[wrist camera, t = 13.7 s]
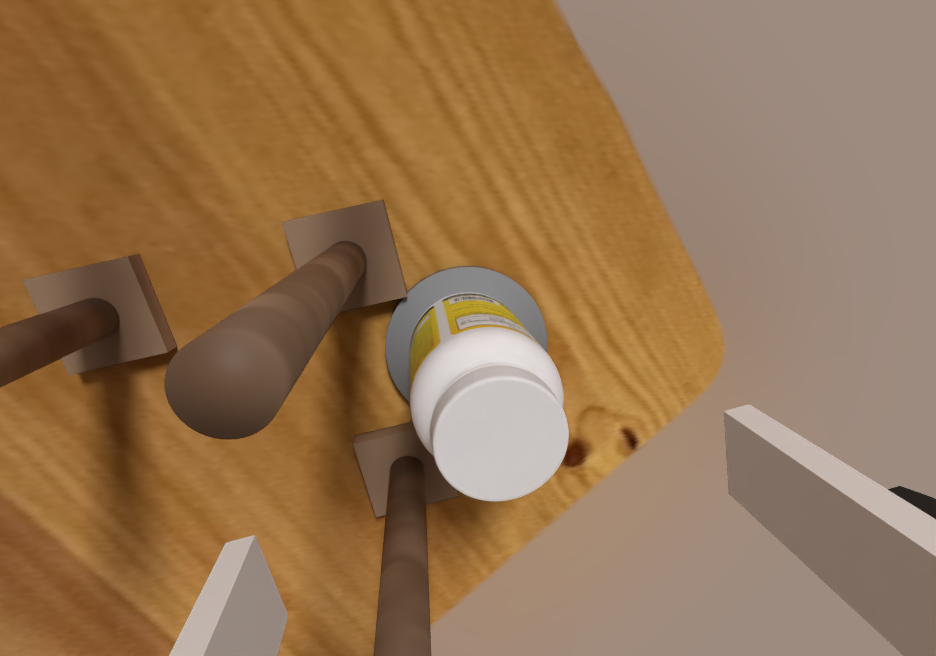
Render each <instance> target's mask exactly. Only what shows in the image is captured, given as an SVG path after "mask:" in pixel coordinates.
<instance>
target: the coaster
mask: <svg viewBox="0 0 936 656" xmlns="http://www.w3.org/2000/svg"><path fill="white" fill-rule="evenodd" d="M462 292H475V293H481V294H485V295H488V296H490V297H492V298H495V299H496V300H498V301H500V302H501V303H502V304H504V305H505V306H506V307H507V308H508V309H509V310H510V311H511V312H512V313H513V314H514V315H515V317H516V318H517V319H518V320H519V321H520V323H521V324H522V325H523V326H524V327H525V328H526V330H527V331H528V332H529V333H530V334H531V335H532V336H533V338H534V339H535V340H536V341H537V342H538V343H539V344H540V345H541V347H542V348H543V349H544V350H545V351H546V352H547V333H546V327H545V323H544V319H543V317H542V314H541V312H540V310H539V308H538V306H537V305H536V303H535V301H534V300H533V299H532V297H531V296H530V295H529V294H528V293H527V292H526V291H525V290H524V289H523V288H522V287H521V286H520V285H519V284H518V283H516V282H515V281H514V280H512V279H511V278H509V277H507V276H505V275H504V274H502V273H499V272H497V271H494V270H491V269H487V268H483V267H475V266H459V267H453V268H448V269H445V270H441V271H438V272H436V273H434V274H432V275H429V276H428V277H426V278H424V279H423V280H421V281H419V282H418V283H417V284H416V285H415V286H413V287H412V288H411V289H410V290H409V291H408V292H407V297H404V298H402V299H401V301H400V302H399V303H398V305H397V307H396V309H395V310H394V312H393V314H392V317H391V320H390V322H389V326H388V331H387V335H386V346H385V349H386V360H387V365H388V369H389V372H390V374H391V377H392V379H393V381H394V383H395V385H396V387H397V388H398V389H399V391H400V392H401V394H402V395H403V396H404V397H405V398H406V399H407V400H408V401H409V402H410V344H411V338H412V333H413V330H414V328H415V325H416V323H417V321H418V320H419V318H420V317H421V315H422V314H423V313H424V312H425V311H426V310H427V309H428V308H429V307H430V306H431V305H432V304H434V303H435V302H437V301H438V300H440V299H442V298H444V297H446V296H449V295H452V294H456V293H462Z"/></svg>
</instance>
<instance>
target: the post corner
mask: <svg viewBox="0 0 936 656" xmlns="http://www.w3.org/2000/svg"><path fill="white" fill-rule="evenodd" d="M282 225H283V228H284V231H285V234H286V237H287V240H288V243H289V246H290V250H291V253H292V256H293V259H294V262H295V265H296V268H297V270H296V271H294V272H293V273H291V274H290V275H288V276H287V277H285V278H284V279H282V280H281V281H279V282H278V283H276V284H275V285H274V286H272V287H271V288H269V289H268V290H266V291H265V292H263V293H262V294H260V295H259V296H257V297H256V298H254V299H253V300H251V301H250V302H249V303H247V304H246V305H244V306H243V307H241V308H240V309H238V310H237V311H235V312H234V313H232V314H231V315H229V316H228V317H226V318H225V319H224V320H222V321H221V322H219V323H218V324H216V325H215V326H213V327H212V328H210V329H209V330H207V331H206V332H204V333H203V334H201V335H200V336H199V337H197V338H196V339H194V340H193V341H191V342H190V343H188V344H187V345H185V346H184V347H183V348H181V349H180V350H179V351H178V352H177V353H176V354H175V355H174V357H173V358H172V360H171V361H170V363H169V365H168V367H167V370H166V374H165V392H166V397H167V399H168V402H169V404H170V406H171V408H172V410H173V411H174V413H175V414H176V415H177V416H178V418H179V419H180V420H181V421H182V422H184V423H185V424H186V425H187V426H188V427H190V428H191V429H193V430H195V431H197V432H198V433H201V434H203V435H206V436H209V437H212V438H218V439H239V438H244V437H247V436H250V435H253V434H255V433H257V432H259V431H260V430H262V429H263V428H264V427H266V426H267V425H268V424H269V423H270V422H271V421H272V420H273V418H274V417H275V415H276V414H277V412H278V411H279V409H280V407H281V406H282V404H283V402H284V401H285V399H286V397H287V396H288V394H289V393H290V391H291V389H292V388H293V386H294V384H295V383H296V381H297V380H298V378H299V376H300V375H301V373H302V371H303V370H304V368H305V367H306V365H307V363H308V362H309V360H310V358H311V357H312V355H313V354H314V352H315V350H316V349H317V347H318V345H319V344H320V342H321V341H322V339H323V337H324V336H325V334H326V332H327V331H328V329H329V328H330V326H331V324H332V323H333V321H334V319H335V318H336V316H337V315H338V313H339V312H344V311H348V310H352V309H357V308H361V307H365V306H370V305H374V304H378V303H383V302H387V301H391V300H395V299H400V298H404V297H407V289H406V285H405V282H404V278H403V274H402V270H401V266H400V262H399V258H398V254H397V250H396V246H395V242H394V238H393V235H392V231H391V227H390V223H389V219H388V215H387V211H386V207H385V203H384V199H383V200H379V201H375V202H370V203H366V204H361V205H357V206H352V207H348V208H343V209H339V210H334V211H330V212H325V213H321V214H316V215H312V216H307V217H303V218H298V219H294V220H289V221H285V222H282Z"/></svg>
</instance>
